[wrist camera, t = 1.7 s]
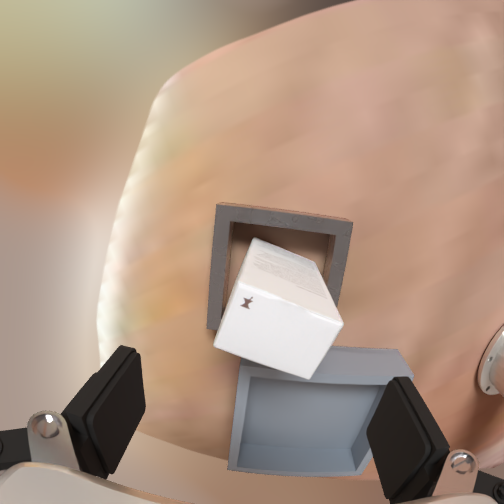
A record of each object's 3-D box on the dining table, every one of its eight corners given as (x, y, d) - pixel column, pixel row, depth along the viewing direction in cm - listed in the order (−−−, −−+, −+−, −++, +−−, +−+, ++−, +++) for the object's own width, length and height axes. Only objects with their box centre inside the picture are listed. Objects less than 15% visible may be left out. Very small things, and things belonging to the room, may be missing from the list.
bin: (397, 349, 28) (414, 375, 23) (354, 447, 31) (360, 475, 26) (245, 336, 28) (239, 365, 23) (232, 440, 32) (227, 469, 27)
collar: (346, 218, 25) (353, 222, 23) (324, 330, 28) (327, 343, 25) (222, 202, 26) (216, 204, 23) (212, 316, 28) (206, 328, 26)
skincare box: (235, 278, 27) (208, 346, 15) (253, 235, 26) (236, 277, 14) (297, 303, 27) (310, 383, 16) (317, 261, 26) (347, 321, 15)
